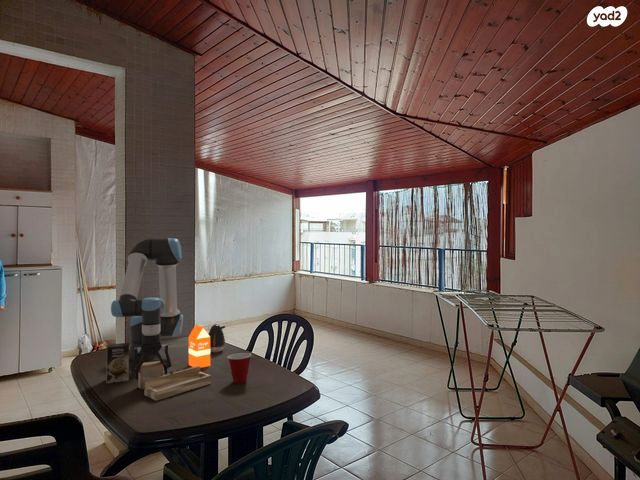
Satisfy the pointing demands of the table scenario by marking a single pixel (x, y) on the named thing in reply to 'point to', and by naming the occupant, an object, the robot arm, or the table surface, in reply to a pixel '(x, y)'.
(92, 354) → the table surface
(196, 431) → the table surface
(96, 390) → the table surface
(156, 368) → the wooden block
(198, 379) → the wooden tray
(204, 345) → the orange juice
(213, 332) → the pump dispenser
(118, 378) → the coffee box
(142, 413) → the table surface
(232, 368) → the plastic cup
